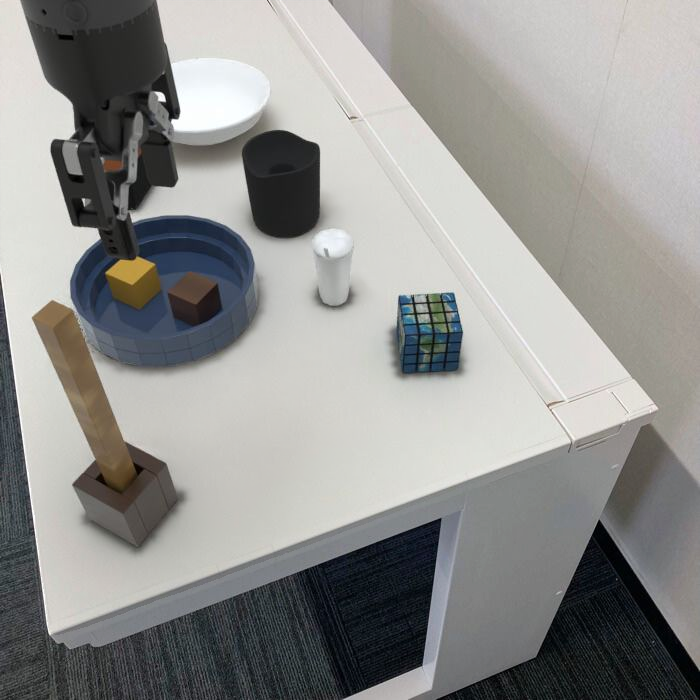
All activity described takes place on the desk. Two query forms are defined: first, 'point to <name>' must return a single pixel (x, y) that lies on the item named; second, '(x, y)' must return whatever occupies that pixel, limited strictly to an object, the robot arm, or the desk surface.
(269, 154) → the pen holder
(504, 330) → the desk surface
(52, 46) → the robot arm
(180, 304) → the block walnut
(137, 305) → the block mustard
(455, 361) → the puzzle
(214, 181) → the desk surface
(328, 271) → the milkshake
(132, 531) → the holder
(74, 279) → the mixing bowl
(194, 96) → the bowl
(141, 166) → the battery
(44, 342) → the stick
